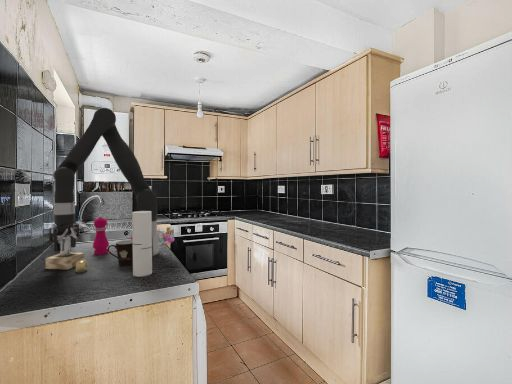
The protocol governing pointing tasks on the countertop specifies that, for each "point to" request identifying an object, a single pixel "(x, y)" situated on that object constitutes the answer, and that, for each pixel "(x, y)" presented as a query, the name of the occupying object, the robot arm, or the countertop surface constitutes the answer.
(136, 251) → the cylindrical container
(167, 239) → the candy landscape model
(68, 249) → the long pin
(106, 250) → the pepper mill
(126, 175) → the robot arm
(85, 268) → the short pin
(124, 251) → the coffee mug
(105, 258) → the countertop surface
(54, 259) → the socket block
